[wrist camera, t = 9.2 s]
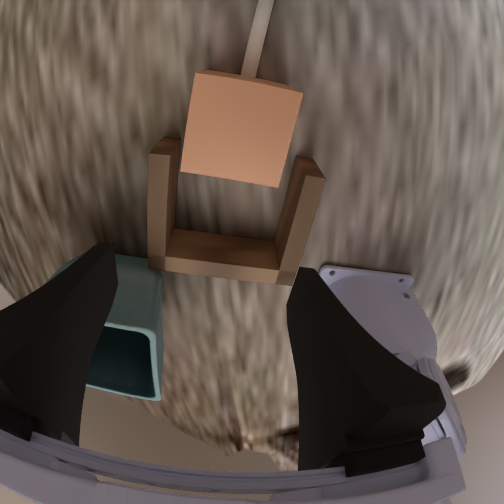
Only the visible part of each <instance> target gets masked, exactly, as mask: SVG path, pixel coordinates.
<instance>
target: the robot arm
mask: <svg viewBox="0 0 504 504" xmlns="http://www.w3.org/2000/svg"><path fill="white" fill-rule="evenodd" d="M331 271H334V272H332V273H330V272H331ZM400 279H401V280H400ZM413 281H414V278H413V277H412V276H411V275H405V274H397V273H389V272H380V271H372V270H364V269H356V268H347V267H339V266H331V265H325V266H323V267H321V269H320V271H319V274H318V273H317V271H316V270H315V269H313V268H305V267H299V270H298V273H297V276H296V278H295V281H294V284H293V287H292V290H291V293H290V296H289V299H288V302H287V304H286V305H287V325H288V332H289V338H290V343H291V348H292V354H293V359H294V365H295V370H296V376H297V384H298V401H299V459H298V471H286V472H228V471H210V470H198V469H187V468H179V467H172V466H164V465H158V464H152V463H146V462H140V461H135V460H130V459H125V458H120V457H116V456H112V455H108V454H103V453H99V452H95V451H92V450H88V449H84V448H81V447H79V434H80V422H81V413H82V405H83V399H84V393H85V387H86V382H87V377H88V373H89V368H90V364H91V360H92V357H93V354H94V350H95V348H96V345H97V343H98V340H99V337H100V335H101V332H102V330H103V327H104V325H105V322H106V320H107V317H108V315H109V313H110V310H111V308H112V305H113V301H114V298H115V295H116V291H117V287H118V276H117V268H116V259H115V249H114V244H113V243H106V242H99V243H98V244H96V245H95V246H94V247H92V248H91V249H90V250H88V251H87V252H86V253H85V254H83V255H82V256H81V257H80V258H78V259H77V260H76V261H75V262H73V263H72V264H71V265H70V266H68V267H67V268H66V269H65V270H63V271H62V272H61V273H59V274H58V275H57V276H55V277H54V278H53V279H51V280H50V281H49V282H47V283H46V284H44V285H43V286H42V287H40V288H39V289H37V290H36V291H34V292H32V293H31V294H29V295H28V296H26V297H24V298H23V299H21V300H19V301H17V302H15V303H14V304H12V305H10V306H8V307H6V308H5V309H3V310H0V485H1V486H3V487H5V488H7V489H8V490H10V491H12V492H14V493H16V494H18V495H20V496H22V497H25V498H27V499H29V500H31V501H33V502H35V503H38V504H451V502H450V497H452V496H455V495H457V494H459V493H461V492H463V491H465V490H466V485H465V482H464V478H463V474H462V471H461V467H460V464H459V462H460V461H461V459H462V457H463V456H464V454H465V451H466V449H465V448H466V447H465V446H466V443H467V438H466V433H465V430H464V427H463V424H462V420H461V416H460V413H459V410H458V407H457V405H456V402H455V399H454V397H453V394H452V392H451V390H450V387H449V385H448V383H447V381H446V379H445V377H444V375H443V373H442V371H441V369H440V367H439V365H438V364H437V362H436V361H435V360H436V356H437V340H436V335H435V332H434V329H433V327H432V325H431V323H430V322H429V320H428V318H427V316H426V314H425V312H424V310H423V308H422V307H421V305H420V303H419V301H418V299H417V298H416V296H415V294H414V292H413V290H412V289H411V285H412V283H413ZM83 470H84V471H83ZM86 471H88V472H91V473H95V474H98V475H103V476H106V477H110V478H114V479H119V480H123V481H128V482H133V483H138V484H143V485H149V486H155V487H162V488H168V489H177V490H185V491H194V492H208V493H226V494H272V495H271V496H270V499H269V500H250V499H244V498H230V497H229V498H228V497H212V496H198V495H187V494H178V493H170V492H164V491H157V490H151V489H145V488H139V487H134V486H130V485H124V484H119V483H114V482H106V481H99V480H98V479H97V477H96V476H95V475H94V474H91V473H88V472H86ZM275 493H277V494H275Z"/></svg>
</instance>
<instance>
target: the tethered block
mask: <svg viewBox="0 0 504 504" xmlns="http://www.w3.org/2000/svg"><path fill="white" fill-rule="evenodd" d="M273 4H274V0H258V3H257V7H256V11H255V15H254V19H253V23H252V27H251V31H250V36H249V40H248V44H247V48H246V53H245V57H244V61H243V66H242V70H241V75H238V74H232V73H226V72H219V71H213V70H204V71H200V72H197V73H195V77H194V83H193V89H192V94H191V100H190V106H189V112H188V119H187V125H186V132H185V139H184V146H183V153H182V161H181V169H180V172H187V173H194V174H201V175H207V176H214V177H220V178H226V179H232V180H238V181H244V182H249V183H255V184H260V185H266V186H271V187H276V188H278V187H279V183H280V179H281V176H282V172H283V168H284V165H285V161H286V157H287V153H288V150H289V146H290V142H291V139H292V135H293V131H294V127H295V124H296V120H297V116H298V112H299V109H300V105H301V101H302V97H303V94H304V93H302V92H300V91H298V90H296V89H295V88H293V87H291V86H289V85H286V84H282V83H278V82H273V81H269V80H264V79H259V78H256V73H257V69H258V65H259V61H260V56H261V52H262V48H263V44H264V40H265V36H266V32H267V28H268V24H269V20H270V16H271V12H272V8H273Z"/></svg>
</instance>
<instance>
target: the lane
mask: <svg viewBox="0 0 504 504" xmlns="http://www.w3.org/2000/svg"><path fill="white" fill-rule="evenodd" d="M180 148H181V139H175V138H164V137H163V138H162V140H161V141H160V142H159V143H158V144H157V145H156V146H155V147H154V148H153V150H152V151H151V152H150V153H149V166H148V197H147V246H148V269H156V270H163V271H170V272H178V273H186V274H194V275H202V276H210V277H218V278H226V279H235V280H243V281H252V282H261V283H270V284H280V285H289V286H292V284H293V281H294V278H295V275H296V272H297V269H298V266H299V263H300V260H301V257H302V254H303V251H304V248H305V245H306V242H307V239H308V236H309V233H310V229H311V226H312V223H313V220H314V217H315V213H316V210H317V207H318V204H319V200H320V197H321V194H322V191H323V187H324V184H325V180H326V178H325V177H324V175H323V174H322V172H321V171H320V169H319V168H318V166H317V164H316V163H315V161H314V160H313V159H309V158H304V157H299V156H296V157H295V161H294V165H293V169H292V173H291V177H290V181H289V185H288V189H287V193H286V197H285V201H284V205H283V209H282V213H281V217H280V221H279V225H278V229H277V233H276V237H275V240H274V241H269V240H261V239H254V238H246V237H238V236H231V235H223V234H215V233H207V232H199V231H191V230H183V229H175V210H176V195H177V181H178V169H179V158H180Z"/></svg>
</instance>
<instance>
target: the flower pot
mask: <svg viewBox="0 0 504 504" xmlns="http://www.w3.org/2000/svg"><path fill="white" fill-rule="evenodd" d="M81 256H82V255H81ZM81 256H78V257H76V258H74V259H72V260H70V261H68V262H67V263H65V264H64V265H63V266H62V267H61V268H59V269H58V270H57V271H56V272H55V273H54V275H53V276H52V277H51V278H50V279H49V280H48V281H47V282H49V281H50V280H51V279H53V278H54V277H55V276H57V275H58V274H59V273H61V272H62V271H63V270H65V269H66V268H67V267H68V266H70V265H71V264H72V263H73V262H75V261H76V260H77V259H78V258H80V257H81ZM115 259H116V268H117V276H118V287H117V291H116V295H115V298H114V301H113V305H112V308H111V310H110V313H109V315H108V317H107V320H106V322H105V325H104V327H103V330H102V332H101V335H100V337H99V340H98V343H97V345H96V348H95V350H94V354H93V357H92V360H91V364H90V368H89V373H88V377H87V382H86V386H88V387H93V388H97V389H101V390H105V391H109V392H114V393H118V394H122V395H127V396H131V397H136V398H142V399H147V400H156V401H160V400H161V387H162V368H163V352H164V344H163V319H162V294H163V281H162V275H161V271H160V270H156V269H148V258H141V257H133V256H126V255H120V254H115ZM47 282H46V283H47ZM46 283H45V284H46Z"/></svg>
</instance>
